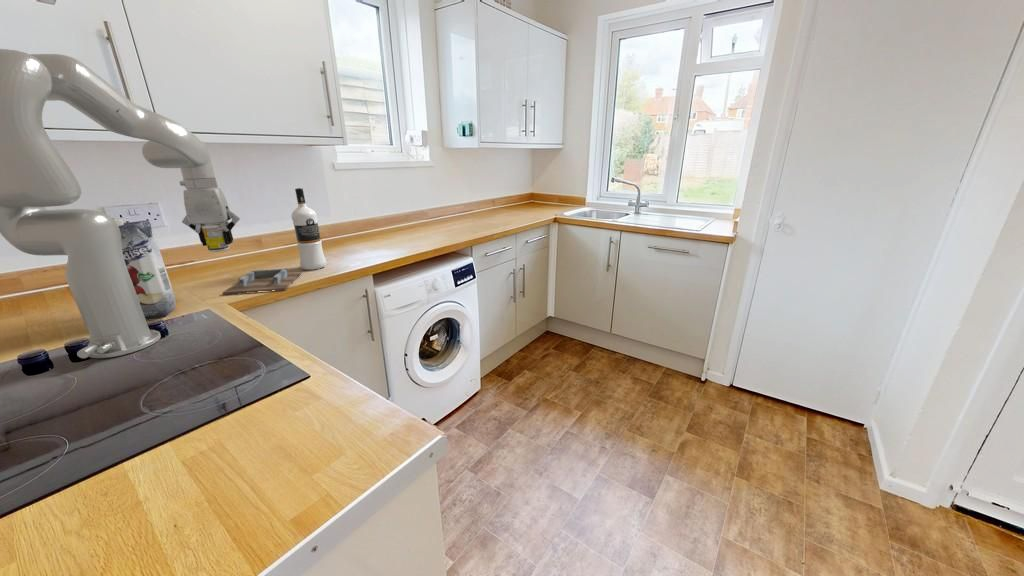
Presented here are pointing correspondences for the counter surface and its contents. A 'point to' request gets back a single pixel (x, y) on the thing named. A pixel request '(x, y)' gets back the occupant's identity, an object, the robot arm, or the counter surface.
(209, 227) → the supplement bottle
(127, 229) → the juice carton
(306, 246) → the vodka
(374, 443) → the counter surface
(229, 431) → the counter surface
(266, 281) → the u rest
